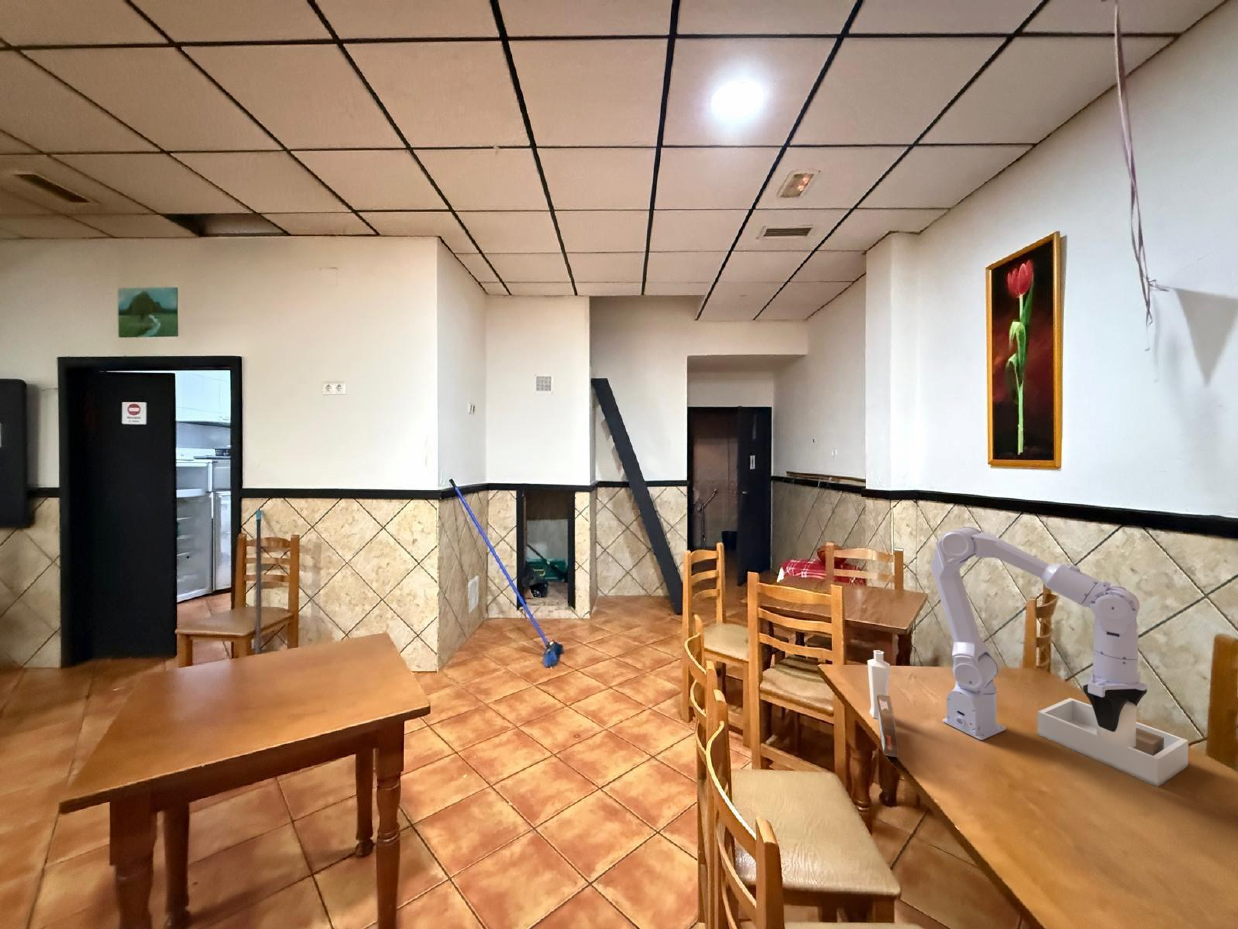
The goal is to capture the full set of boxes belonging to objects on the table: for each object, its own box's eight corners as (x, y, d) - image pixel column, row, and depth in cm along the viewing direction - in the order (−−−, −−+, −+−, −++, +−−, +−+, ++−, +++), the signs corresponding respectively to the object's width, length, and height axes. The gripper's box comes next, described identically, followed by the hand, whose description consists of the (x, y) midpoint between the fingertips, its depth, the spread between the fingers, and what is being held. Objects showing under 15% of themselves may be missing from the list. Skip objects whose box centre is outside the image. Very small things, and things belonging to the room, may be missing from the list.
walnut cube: (1152, 770, 87) (1152, 744, 87) (1115, 755, 92) (1115, 730, 92) (1163, 763, 89) (1164, 737, 89) (1127, 748, 94) (1127, 724, 94)
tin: (899, 767, 90) (899, 724, 90) (881, 763, 91) (881, 721, 91) (891, 726, 104) (891, 689, 103) (875, 723, 105) (875, 686, 105)
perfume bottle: (870, 708, 111) (870, 646, 111) (891, 715, 108) (891, 651, 108) (864, 715, 108) (864, 652, 108) (885, 723, 105) (885, 657, 105)
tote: (1157, 787, 84) (1157, 759, 84) (1037, 734, 100) (1037, 711, 100) (1188, 766, 89) (1188, 740, 89) (1070, 719, 105) (1070, 697, 105)
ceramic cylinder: (1127, 750, 83) (1127, 711, 83) (1090, 734, 88) (1091, 698, 88) (1141, 743, 85) (1142, 706, 85) (1105, 728, 89) (1105, 692, 89)
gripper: (1126, 669, 80) (1125, 747, 80) (1164, 654, 85) (1163, 727, 86) (1073, 653, 86) (1072, 725, 86) (1111, 641, 92) (1111, 708, 92)
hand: (1114, 725), depth 86 cm, fingers closed on ceramic cylinder, 5 cm apart
